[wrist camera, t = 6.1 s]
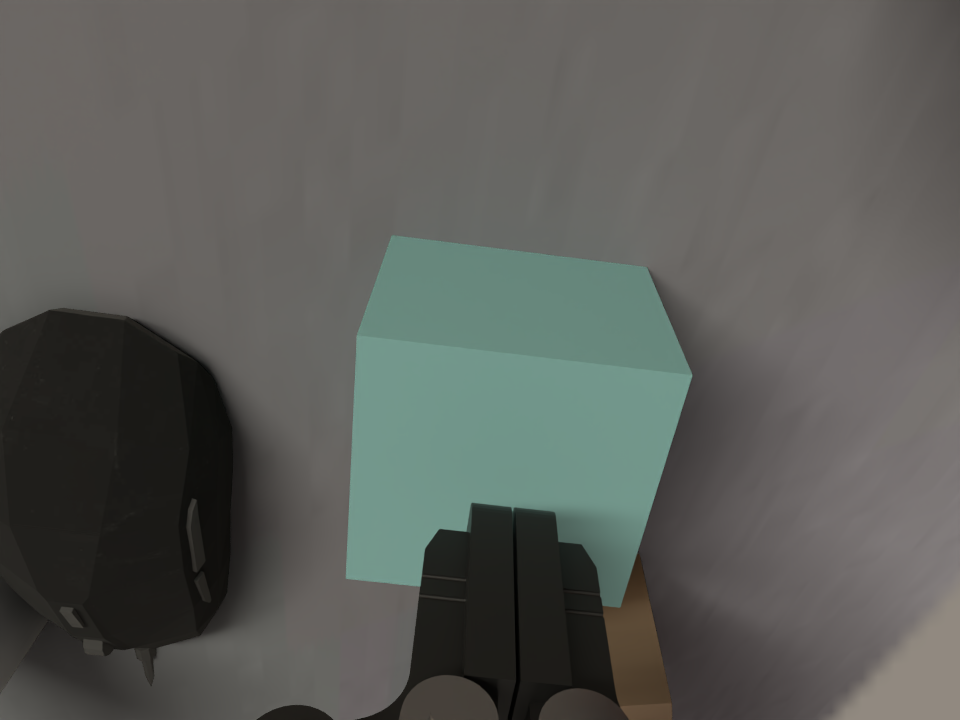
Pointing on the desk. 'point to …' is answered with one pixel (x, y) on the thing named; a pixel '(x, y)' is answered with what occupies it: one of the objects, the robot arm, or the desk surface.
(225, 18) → the desk surface
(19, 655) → the grey cylinder
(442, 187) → the desk surface
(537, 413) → the teal block
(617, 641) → the walnut block
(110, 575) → the gaming mouse
